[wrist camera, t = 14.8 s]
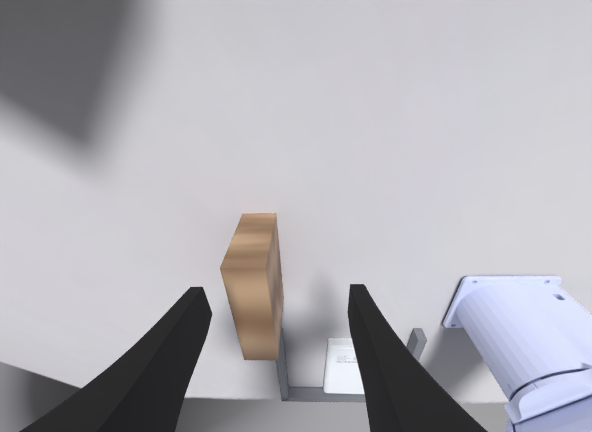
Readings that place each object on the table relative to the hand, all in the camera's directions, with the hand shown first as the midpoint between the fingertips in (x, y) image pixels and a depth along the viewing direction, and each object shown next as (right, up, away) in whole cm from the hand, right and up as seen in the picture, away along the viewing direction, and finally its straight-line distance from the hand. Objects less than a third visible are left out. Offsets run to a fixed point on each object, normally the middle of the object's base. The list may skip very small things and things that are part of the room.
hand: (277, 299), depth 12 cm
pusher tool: (-2, 0, +13) cm, 13 cm away
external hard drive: (+9, -16, +23) cm, 30 cm away
